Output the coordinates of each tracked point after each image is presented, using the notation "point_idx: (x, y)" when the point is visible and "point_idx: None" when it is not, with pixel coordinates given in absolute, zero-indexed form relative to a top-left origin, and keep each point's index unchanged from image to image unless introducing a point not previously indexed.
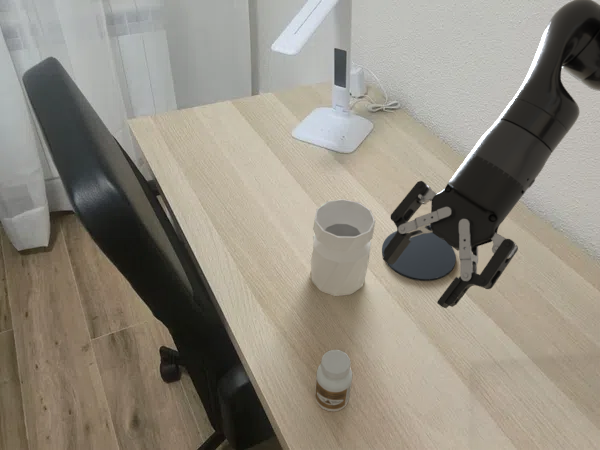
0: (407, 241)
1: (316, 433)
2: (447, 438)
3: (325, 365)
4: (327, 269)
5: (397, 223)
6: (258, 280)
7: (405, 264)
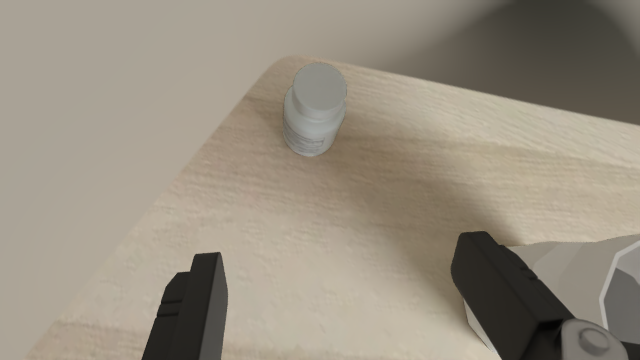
0: (514, 348)
1: (275, 83)
2: (143, 230)
3: (323, 66)
4: (529, 250)
5: (636, 353)
6: (554, 172)
7: None
